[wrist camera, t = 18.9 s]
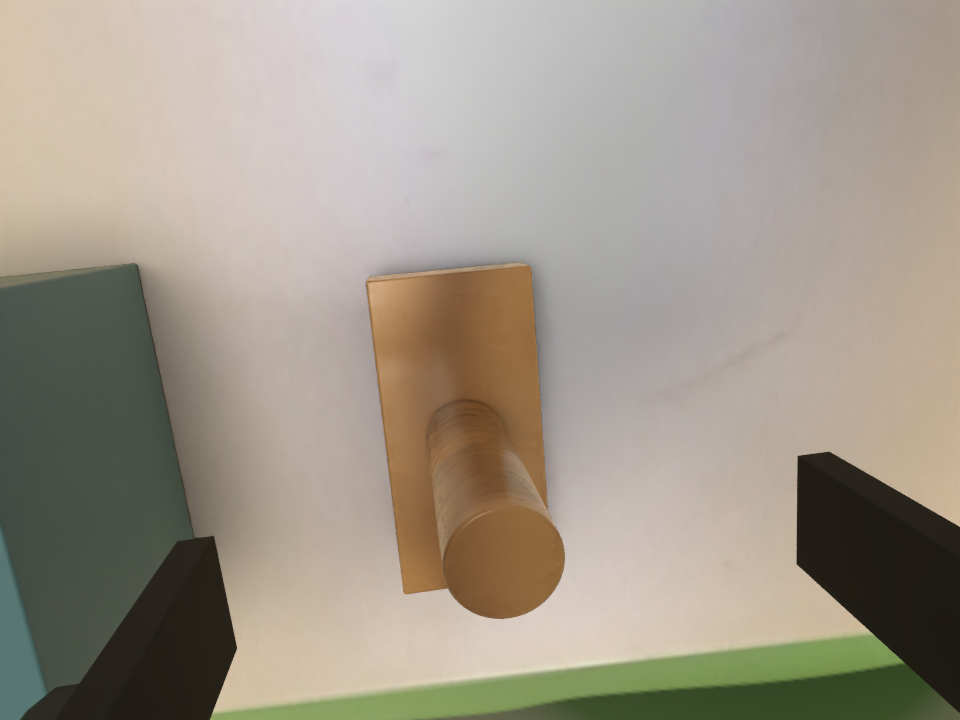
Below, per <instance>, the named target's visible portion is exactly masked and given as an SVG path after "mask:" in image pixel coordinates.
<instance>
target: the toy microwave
mask: <svg viewBox="0 0 960 720" xmlns="http://www.w3.org/2000/svg"><path fill="white" fill-rule="evenodd" d="M189 539H194V537H193V532H192V528H191V523H190V518H189V513H188V508H187V504H186V499H185V494H184V489H183V484H182V480H181V475H180V470H179V465H178V461H177V456H176V451H175V446H174V441H173V437H172V432H171V427H170V422H169V418H168V413H167V408H166V403H165V398H164V394H163V389H162V384H161V379H160V375H159V370H158V365H157V360H156V355H155V351H154V346H153V341H152V336H151V331H150V327H149V322H148V317H147V312H146V308H145V303H144V298H143V293H142V288H141V284H140V279H139V274H138V269H137V265H136V264H134V263H133V264H123V265H114V266H104V267H95V268H85V269H75V270H66V271H56V272H47V273H37V274H28V275H18V276H9V277H0V720H20V719H21V718H22V716H23V715H24V714H25V712H26V711H27V710H28V709H30V708H31V707H32V706H33V705H35V704H36V703H37V702H38V701H40V700H41V699H42V698H43V697H44V696H46V695H47V694H48V693H49V692H51V691H52V690H53V689H54V688H55V687H60V686H66V685H73V684H79V683H80V682H81V680H82V679H83V677H84V676H85V674H86V673H87V672H88V670H89V669H90V667H91V666H92V664H93V663H94V661H95V660H96V658H97V657H98V656H99V654H100V653H101V651H102V650H103V648H104V647H105V645H106V644H107V642H108V641H109V640H110V638H111V637H112V635H113V634H114V632H115V631H116V629H117V628H118V626H119V625H120V624H121V622H122V621H123V619H124V618H125V616H126V615H127V613H128V612H129V610H130V609H131V608H132V606H133V605H134V603H135V602H136V600H137V599H138V597H139V596H140V594H141V593H142V592H143V590H144V589H145V587H146V586H147V584H148V583H149V581H150V580H151V578H152V577H153V576H154V574H155V573H156V571H157V570H158V568H159V567H160V565H161V564H162V562H163V561H164V560H165V558H166V557H167V555H168V554H169V552H170V551H171V549H172V548H173V546H174V545H175V544H176V542H177V541H181V540H189Z"/></svg>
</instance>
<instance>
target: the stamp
mask: <svg viewBox="0 0 960 720" xmlns="http://www.w3.org/2000/svg"><path fill="white" fill-rule="evenodd" d="M366 288H367V297H368V305H369V313H370V321H371V329H372V338H373V346H374V354H375V362H376V370H377V378H378V387H379V395H380V403H381V411H382V419H383V428H384V436H385V444H386V452H387V460H388V468H389V477H390V485H391V493H392V501H393V509H394V518H395V526H396V534H397V542H398V550H399V558H400V567H401V575H402V583H403V591H404V593H405V594H411V593H418V592H425V591H432V590H439V589H446V588H448V589H449V591H450V593H451V594H452V596H453V597H454V598H455V599H456V600H457V601H458V602H459V603H460V604H461V605H462V606H463V607H465V608H466V609H468V610H469V611H471V612H473V613H475V614H477V615H480V616H484V617H488V618H495V619H504V618H512V617H517V616H520V615H523V614H525V613H528V612H530V611H532V610H533V609H535V608H537V607H538V606H540V605H541V604H542V603H543V602H545V601H546V599H547V598H548V597H549V596H550V595H551V594H552V593H553V591H554V590H555V588H556V587H557V585H558V583H559V581H560V579H561V576H562V573H563V569H564V563H565V551H564V545H563V542H562V539H561V536H560V534H559V532H558V530H557V528H556V526H555V524H554V522H553V520H552V518H551V516H550V515H549V513H548V505H547V491H546V476H545V461H544V447H543V432H542V418H541V403H540V388H539V374H538V359H537V345H536V330H535V315H534V301H533V286H532V272H531V266H529V265H527V264H524V263H521V262H516V263H506V264H495V265H485V266H475V267H464V268H454V269H443V270H433V271H423V272H412V273H402V274H391V275H381V276H371V277H368V280H367V282H366Z"/></svg>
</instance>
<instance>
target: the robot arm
mask: <svg viewBox="0 0 960 720" xmlns="http://www.w3.org/2000/svg"><path fill="white" fill-rule="evenodd" d="M797 565H798V566H799V567H800V568H801V569H803V570H804V571H805V572H806V573H807V574H808V575H809V576H810V577H811V578H812V579H814V580H815V581H816V582H817V583H818V584H819V585H820V586H821V587H822V588H823V589H824V590H826V591H827V592H828V593H829V594H830V595H831V596H832V597H833V598H834V599H835V600H837V601H838V602H839V603H840V604H841V605H842V606H843V607H844V608H845V609H846V610H847V611H849V612H850V613H851V614H852V615H853V616H854V617H855V618H856V619H857V620H858V621H860V622H861V623H862V624H863V625H864V626H865V627H866V628H867V629H868V630H869V631H870V632H872V633H873V634H874V635H875V636H876V637H877V638H878V639H879V640H880V641H881V642H883V643H884V644H885V645H886V646H887V647H888V648H889V649H890V650H891V651H892V652H893V653H895V654H896V655H897V656H898V657H899V658H900V659H901V660H902V661H903V662H904V663H906V664H907V665H908V666H909V667H910V668H911V669H912V670H913V671H914V672H916V674H918V675H919V676H920V677H921V678H922V679H923V680H924V681H925V682H926V683H928V684H929V685H930V686H931V687H932V688H933V689H934V690H935V691H936V692H937V693H938V694H940V695H941V696H942V697H943V698H944V699H945V700H946V701H947V702H948V703H950V705H952V706H953V707H954V708H955V709H956V710H957V711H958V712H959V713H960V527H959V526H957V525H956V524H954V523H952V522H950V521H949V520H947V519H945V518H943V517H942V516H940V515H938V514H936V513H935V512H933V511H931V510H930V509H928V508H926V507H924V506H923V505H921V504H919V503H917V502H916V501H914V500H912V499H910V498H909V497H907V496H905V495H904V494H902V493H900V492H898V491H897V490H895V489H893V488H891V487H890V486H888V485H886V484H884V483H883V482H881V481H879V480H878V479H876V478H874V477H872V476H871V475H869V474H867V473H865V472H864V471H862V470H860V469H858V468H857V467H855V466H853V465H852V464H850V463H848V462H846V461H845V460H843V459H841V458H839V457H838V456H836V455H834V454H832V453H831V452H823V453H816V454H809V455H801V456H798V474H797ZM236 650H237V646H236V641H235V636H234V631H233V626H232V621H231V616H230V612H229V607H228V602H227V597H226V592H225V587H224V583H223V578H222V573H221V568H220V563H219V558H218V554H217V549H216V544H215V539H214V536H211V537H203V538H196V539H189V540H181V541H177V542H176V544H175V545H174V546H173V548H172V549H171V551H170V552H169V554H168V555H167V557H166V558H165V560H164V561H163V562H162V564H161V565H160V567H159V568H158V570H157V571H156V573H155V574H154V576H153V577H152V578H151V580H150V581H149V583H148V584H147V586H146V587H145V589H144V590H143V592H142V593H141V594H140V596H139V597H138V599H137V600H136V602H135V603H134V605H133V606H132V608H131V609H130V610H129V612H128V613H127V615H126V616H125V618H124V619H123V621H122V622H121V624H120V625H119V626H118V628H117V629H116V631H115V632H114V634H113V635H112V637H111V638H110V640H109V641H108V642H107V644H106V645H105V647H104V648H103V650H102V651H101V653H100V654H99V656H98V657H97V658H96V660H95V661H94V663H93V664H92V666H91V667H90V669H89V670H88V672H87V673H86V674H85V676H84V677H83V679H82V680H81V682H80V683H79V684H73V685H66V686H60V687H55V688H54V689H53V690H52V691H51V692H49V693H48V694H47V695H46V696H44V697H43V698H42V699H41V700H40V701H38V702H37V703H36V704H35V705H33V706H32V707H31V708H30V709H28V710H27V711H26V712H25V714H24V715H23V716H22V718H21V719H20V720H210V718H211V715H212V712H213V710H214V707H215V704H216V702H217V699H218V697H219V694H220V691H221V689H222V686H223V684H224V681H225V678H226V676H227V673H228V671H229V668H230V665H231V663H232V660H233V658H234V655H235V652H236Z"/></svg>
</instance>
